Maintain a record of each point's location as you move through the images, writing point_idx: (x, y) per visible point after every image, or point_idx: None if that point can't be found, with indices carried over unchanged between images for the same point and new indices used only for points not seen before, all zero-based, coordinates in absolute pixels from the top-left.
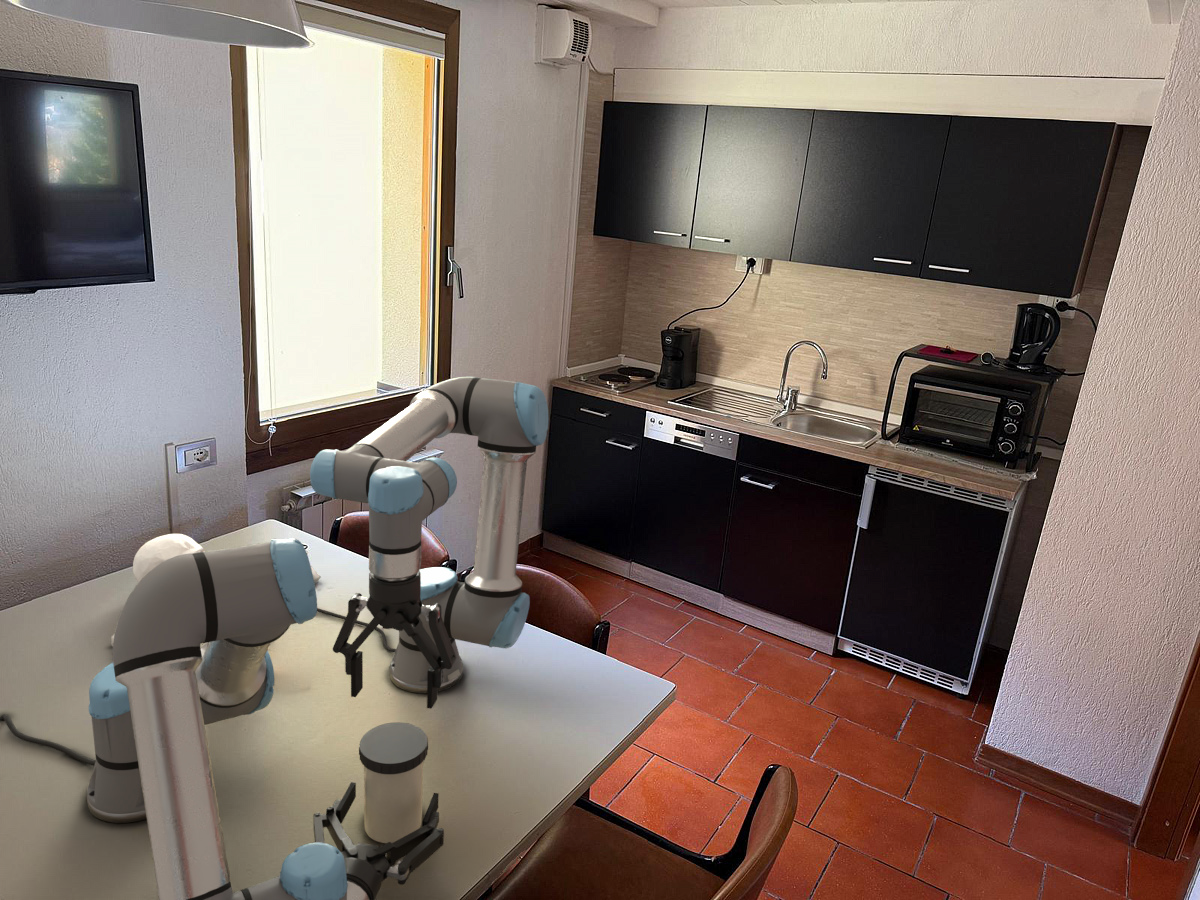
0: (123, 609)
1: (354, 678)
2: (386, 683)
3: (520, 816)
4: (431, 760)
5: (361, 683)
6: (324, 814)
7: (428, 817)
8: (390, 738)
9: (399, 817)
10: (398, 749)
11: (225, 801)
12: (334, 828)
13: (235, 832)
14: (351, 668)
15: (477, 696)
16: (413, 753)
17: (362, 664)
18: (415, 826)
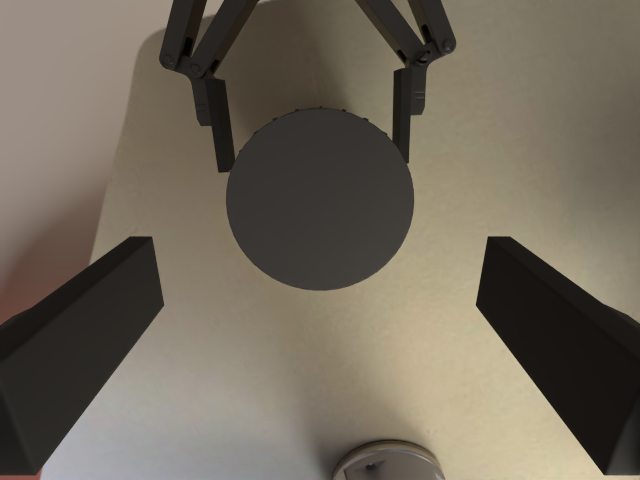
0: None
1: (550, 281)
2: (440, 449)
3: (125, 224)
4: (312, 311)
5: (490, 309)
6: (433, 59)
7: (208, 94)
8: (335, 221)
9: None
10: (296, 181)
11: (621, 147)
12: (395, 8)
13: (582, 77)
14: (618, 318)
15: (294, 451)
16: (247, 173)
17: (540, 390)
18: None
